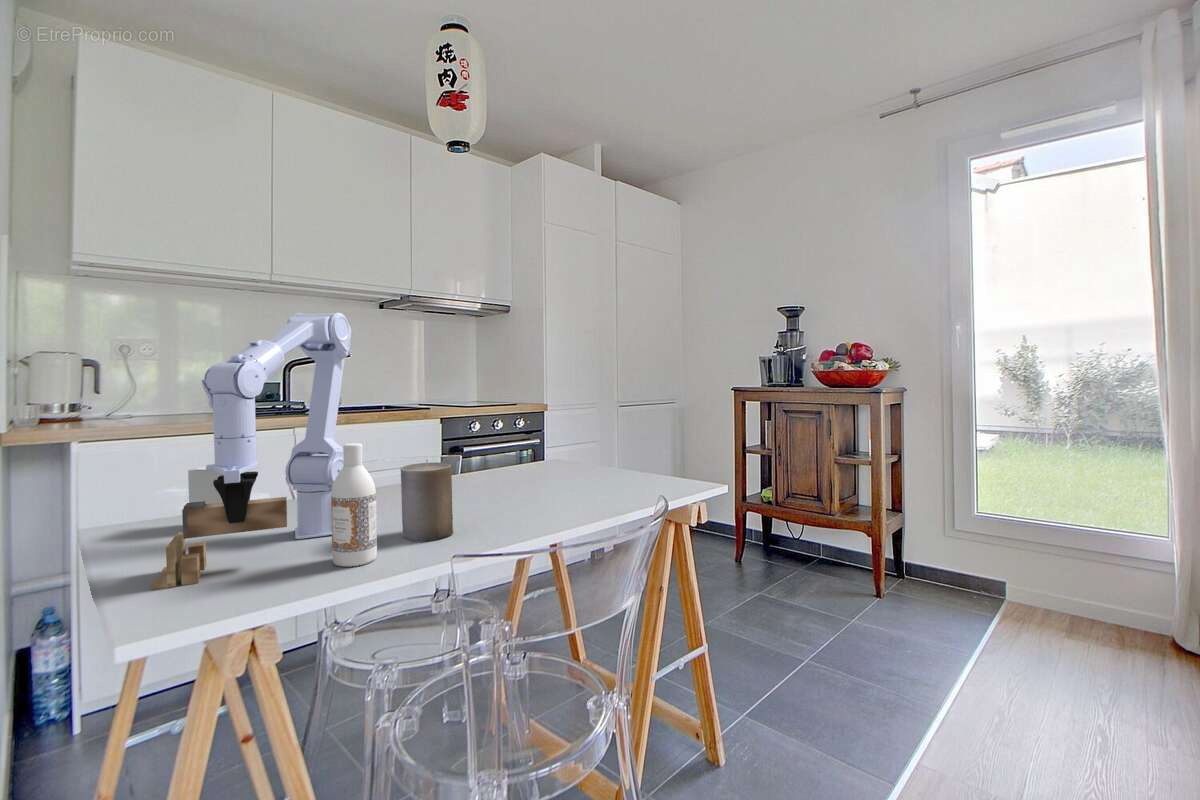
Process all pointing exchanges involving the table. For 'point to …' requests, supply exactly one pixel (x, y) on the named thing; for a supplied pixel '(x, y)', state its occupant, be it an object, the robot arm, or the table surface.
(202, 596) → the table surface
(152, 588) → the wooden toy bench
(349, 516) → the bath foam
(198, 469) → the supplement box
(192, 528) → the brown wooden block
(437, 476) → the pillar candle
